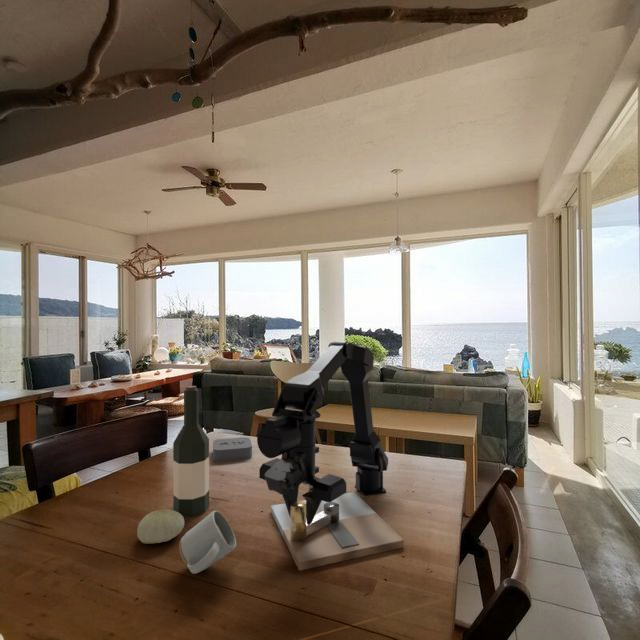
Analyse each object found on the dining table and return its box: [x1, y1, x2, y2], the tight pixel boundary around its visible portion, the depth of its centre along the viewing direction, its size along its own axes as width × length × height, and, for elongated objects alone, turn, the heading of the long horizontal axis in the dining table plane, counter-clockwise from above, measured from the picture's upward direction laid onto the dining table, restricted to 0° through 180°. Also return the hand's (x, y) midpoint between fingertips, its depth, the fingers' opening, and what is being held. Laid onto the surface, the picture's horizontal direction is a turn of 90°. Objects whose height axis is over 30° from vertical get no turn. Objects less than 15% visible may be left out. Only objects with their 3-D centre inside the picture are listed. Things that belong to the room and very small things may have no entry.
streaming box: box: [212, 436, 253, 463], centre depth 136 cm, size 13×13×5 cm
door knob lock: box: [290, 500, 339, 541], centre depth 84 cm, size 13×3×6 cm, turn 136°
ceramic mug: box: [178, 510, 237, 575], centre depth 72 cm, size 11×8×8 cm
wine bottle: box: [172, 385, 210, 518], centre depth 97 cm, size 8×8×30 cm
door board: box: [270, 491, 405, 571], centre depth 87 cm, size 22×24×2 cm
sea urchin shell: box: [136, 508, 186, 545], centre depth 84 cm, size 9×8×8 cm
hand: (300, 520), depth 80 cm, fingers open, 4 cm apart
